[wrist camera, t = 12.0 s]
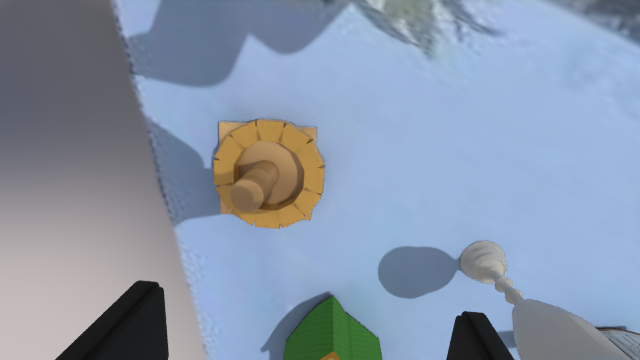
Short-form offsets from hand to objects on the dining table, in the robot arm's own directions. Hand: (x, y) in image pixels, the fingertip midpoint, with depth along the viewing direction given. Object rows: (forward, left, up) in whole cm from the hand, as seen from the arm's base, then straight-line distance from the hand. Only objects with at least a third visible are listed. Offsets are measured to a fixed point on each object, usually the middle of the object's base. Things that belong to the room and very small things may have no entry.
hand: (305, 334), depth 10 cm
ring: (+1, -6, -24) cm, 25 cm away
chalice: (+10, +19, -26) cm, 34 cm away
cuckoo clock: (+31, +3, -26) cm, 40 cm away
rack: (+1, -6, -26) cm, 26 cm away
